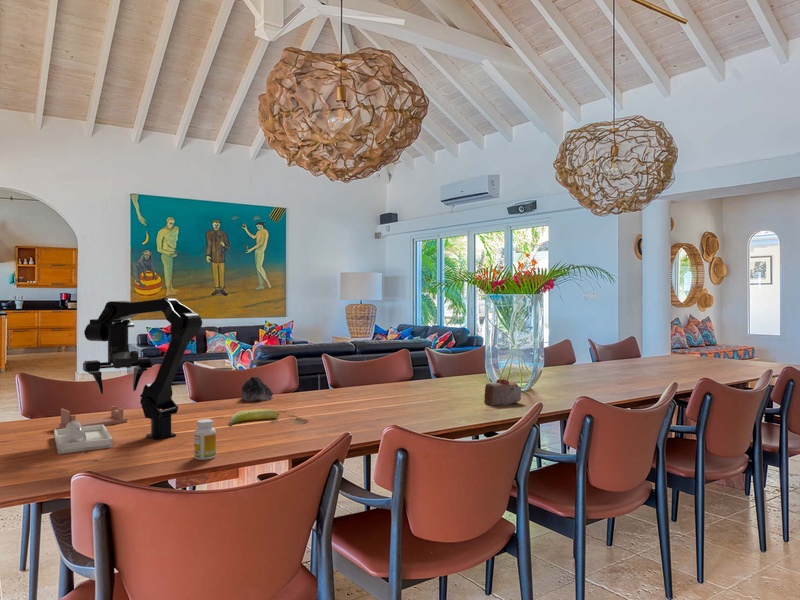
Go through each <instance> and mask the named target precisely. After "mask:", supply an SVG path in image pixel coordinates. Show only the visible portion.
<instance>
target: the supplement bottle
mask: <svg viewBox="0 0 800 600" xmlns="http://www.w3.org/2000/svg"><path fill="white" fill-rule="evenodd" d="M196 423H197V424H196V426H197V428H196V429H195V430H194V434H193V435H194V436H193V437H194V438H193V439H194V448H193V450H194V451H193V452H194V456H193V457H194V459H195V460H199V461H201V460H202V461H203V460H204V461H207V460H212V459H214V458H215V457H216V455H217V431H216V429H215V428H214V419H212V418H206V419H205V418H203V419H198V420H197V421H196Z"/></svg>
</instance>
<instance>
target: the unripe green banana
mask: <svg viewBox="0 0 800 600" xmlns="http://www.w3.org/2000/svg"><path fill="white" fill-rule="evenodd" d="M281 413H284V414H286V413H288V414H287V415H286V416H287V417H288V418H289V419H290V420H291V419H292V418H293V420H294V421H295V422H291V423H290V424H292V425H304V424H306V423H308V422H309V421H308V419H304V418H302V417H298V416H295V415H294V414H293V413H294V412H293V411H292V414H289V411H288V410H287V411H286V410H280V411H279V410H278V411H277V410H274V409H263V408H262V409H259V408H258V409H249V410H241V411H237V412H235V413H234V414H232V415H231V416H230V418H229V421H230V422H229V423H228V425H229V426H230V427H231V426H234V425H236V424H240V423H244V422H245V423H246V422H251V421H264V420H269V422H270V423H269V424H270V425H272V424H277V423H279V419H278V420H275V419H277V418H279V417H280V416H279V415H280V414H281ZM221 418H224V416H223V415H222V416H218V417H213V418H211V420H214V419H221ZM244 430H246V429H243V431H244ZM239 431H242V429H240V430H239Z"/></svg>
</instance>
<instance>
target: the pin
mask: <svg viewBox="0 0 800 600" xmlns="http://www.w3.org/2000/svg"><path fill="white" fill-rule="evenodd" d="M78 421H79V420H78ZM78 421H77V420H75V421H71V422H69V423H68V424H67V426H66V431H67V434H68V437H69V440H70V443H76V442H84V441H86V435H85V433H84V431H83V428H82V426H81V424H80V423H79V422H78Z"/></svg>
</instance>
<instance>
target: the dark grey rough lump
mask: <svg viewBox="0 0 800 600" xmlns="http://www.w3.org/2000/svg"><path fill="white" fill-rule="evenodd" d="M273 394H274V393H273V392H272V390H271V389H270V388H269V386H268V385H266V384H265V383H264V382H263V381H262V379H261V378H260V377H258V376H252V377H250V379H246V381H245V382H244V384H242V386H241V400H242V401H247V402H248V401H249V402H250V401H251V402H255V401H256V402H257V401H269V400H271V399H273Z"/></svg>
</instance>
